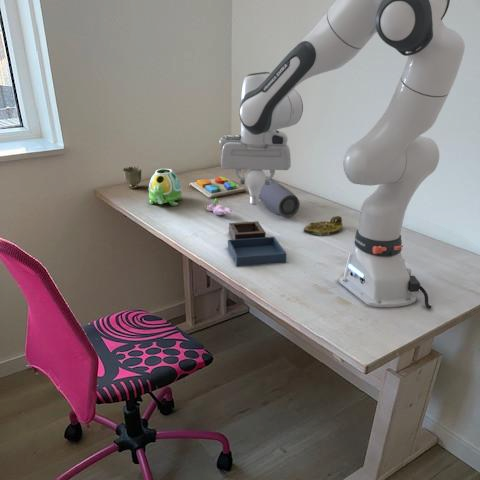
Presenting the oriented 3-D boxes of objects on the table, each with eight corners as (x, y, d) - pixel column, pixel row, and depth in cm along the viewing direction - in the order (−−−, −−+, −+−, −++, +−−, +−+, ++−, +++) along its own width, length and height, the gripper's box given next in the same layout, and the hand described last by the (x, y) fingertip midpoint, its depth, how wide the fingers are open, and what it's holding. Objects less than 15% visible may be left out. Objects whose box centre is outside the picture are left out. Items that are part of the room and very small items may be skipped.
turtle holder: (141, 210, 188) (139, 178, 181) (155, 195, 203) (152, 165, 196) (174, 212, 186) (172, 180, 180) (185, 197, 202) (184, 167, 195)
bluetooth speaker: (300, 219, 183) (302, 192, 178) (276, 222, 180) (278, 194, 175) (273, 199, 201) (275, 174, 196) (252, 202, 198) (253, 176, 193)
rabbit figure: (201, 213, 190) (221, 219, 178) (200, 197, 187) (220, 202, 176) (216, 210, 193) (236, 216, 181) (215, 195, 190) (235, 200, 178)
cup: (124, 185, 212) (121, 166, 208) (141, 184, 214) (139, 165, 210) (126, 191, 206) (124, 171, 202) (144, 189, 208) (142, 170, 204)
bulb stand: (265, 244, 164) (265, 232, 161) (234, 246, 162) (235, 234, 159) (257, 232, 172) (257, 221, 170) (228, 234, 170) (228, 223, 168)
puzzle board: (211, 199, 200) (211, 190, 198) (188, 186, 213) (187, 178, 211) (247, 192, 208) (247, 184, 206) (223, 180, 221) (223, 172, 219)
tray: (285, 262, 152) (286, 253, 150) (236, 266, 149) (236, 257, 147) (273, 245, 163) (274, 236, 161) (227, 248, 160) (227, 239, 158)
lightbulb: (268, 203, 154) (270, 167, 148) (258, 209, 149) (259, 172, 143) (250, 199, 156) (251, 164, 151) (239, 205, 152) (240, 168, 146)
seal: (311, 241, 169) (348, 233, 174) (313, 228, 166) (351, 221, 171) (297, 228, 175) (333, 221, 181) (299, 216, 172) (336, 209, 178)
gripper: (218, 137, 140) (219, 186, 147) (292, 138, 139) (289, 188, 147) (220, 132, 145) (220, 180, 152) (291, 133, 145) (288, 181, 152)
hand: (255, 184), depth 149 cm, fingers closed on lightbulb, 6 cm apart
